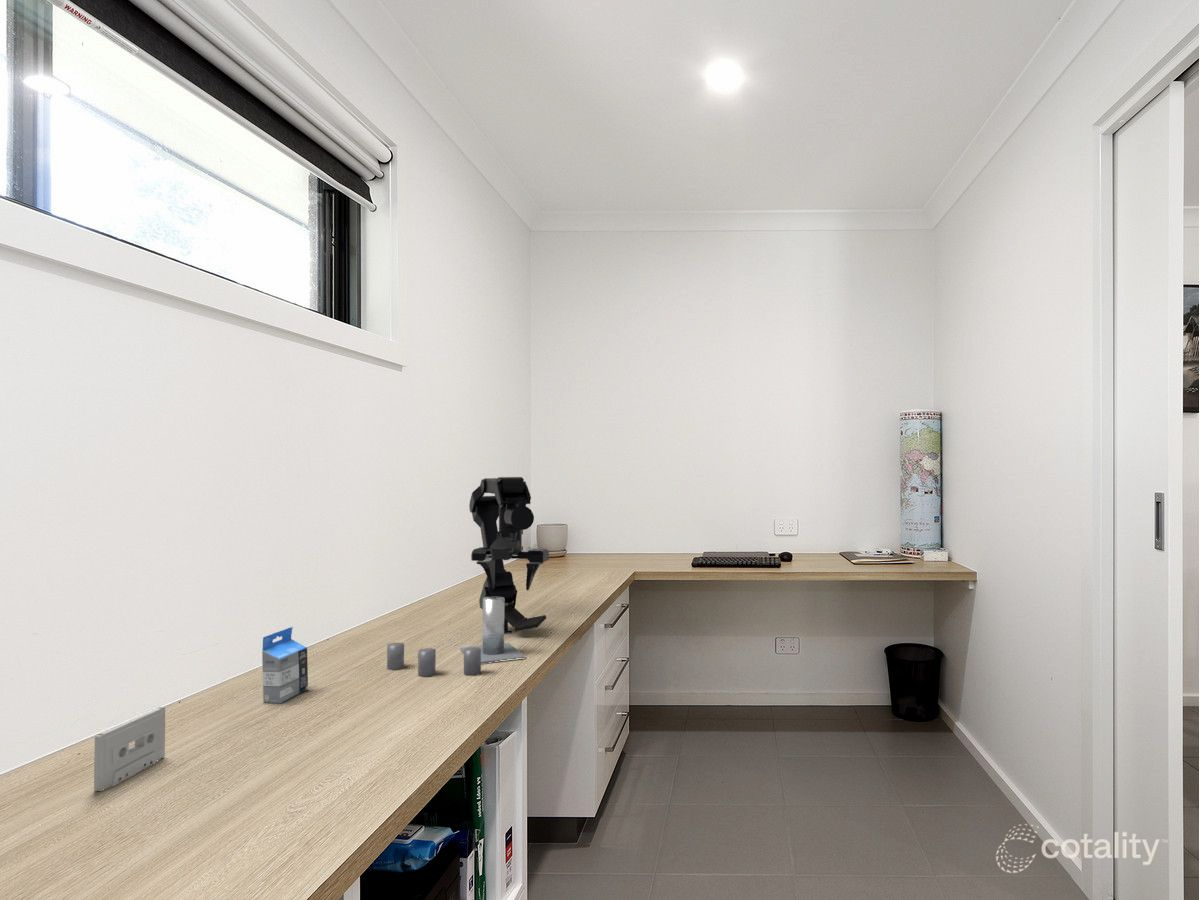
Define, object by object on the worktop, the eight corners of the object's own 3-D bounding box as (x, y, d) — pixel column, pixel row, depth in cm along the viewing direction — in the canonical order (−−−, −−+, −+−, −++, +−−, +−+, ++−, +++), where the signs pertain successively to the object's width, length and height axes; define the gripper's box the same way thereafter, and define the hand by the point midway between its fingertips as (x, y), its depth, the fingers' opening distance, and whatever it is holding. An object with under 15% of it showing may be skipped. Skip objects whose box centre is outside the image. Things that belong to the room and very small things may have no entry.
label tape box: (280, 704, 134) (281, 637, 134) (261, 703, 135) (261, 636, 135) (308, 689, 142) (309, 627, 143) (290, 688, 143) (290, 626, 143)
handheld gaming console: (534, 637, 183) (538, 624, 183) (495, 625, 185) (499, 612, 185) (544, 627, 194) (547, 615, 194) (507, 616, 195) (510, 604, 195)
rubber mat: (460, 649, 173) (460, 647, 173) (508, 644, 177) (508, 642, 177) (473, 664, 160) (473, 662, 160) (525, 659, 164) (525, 656, 164)
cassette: (157, 756, 110) (157, 706, 110) (168, 757, 110) (168, 706, 110) (90, 792, 98) (90, 735, 98) (102, 793, 98) (103, 736, 98)
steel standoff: (480, 650, 170) (480, 597, 170) (500, 648, 172) (501, 595, 172) (485, 655, 165) (485, 601, 166) (506, 653, 167) (506, 599, 167)
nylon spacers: (392, 664, 160) (392, 642, 160) (483, 671, 155) (483, 647, 155) (376, 673, 153) (376, 649, 154) (470, 680, 148) (470, 655, 148)
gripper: (462, 529, 175) (462, 593, 175) (536, 530, 171) (536, 596, 171) (479, 525, 186) (479, 586, 186) (549, 526, 182) (549, 588, 182)
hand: (510, 589), depth 181 cm, fingers open, 9 cm apart
